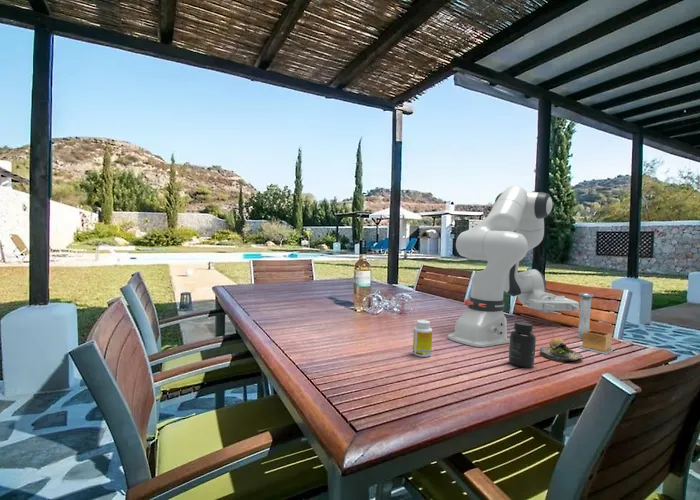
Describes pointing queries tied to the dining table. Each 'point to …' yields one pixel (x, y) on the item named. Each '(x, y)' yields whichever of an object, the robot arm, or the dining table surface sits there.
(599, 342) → the block
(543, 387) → the dining table surface
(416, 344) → the supplement bottle
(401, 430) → the dining table surface
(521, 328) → the supplement bottle
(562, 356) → the burger
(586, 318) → the drop pin
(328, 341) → the dining table surface
